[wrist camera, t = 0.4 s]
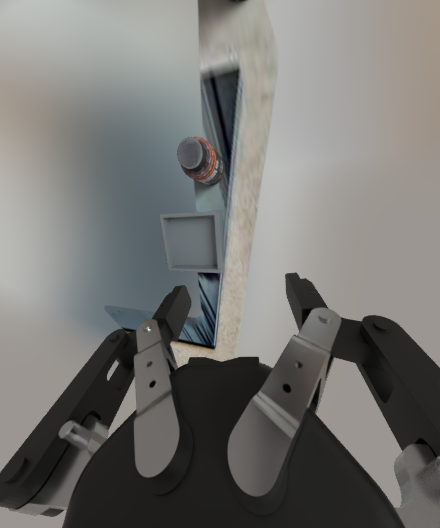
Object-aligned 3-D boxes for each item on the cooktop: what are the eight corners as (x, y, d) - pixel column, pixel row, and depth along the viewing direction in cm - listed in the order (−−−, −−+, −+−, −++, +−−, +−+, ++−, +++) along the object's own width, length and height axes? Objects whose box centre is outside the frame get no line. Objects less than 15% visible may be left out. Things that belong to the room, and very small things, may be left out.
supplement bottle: (194, 161, 34) (164, 139, 23) (219, 147, 32) (199, 118, 21) (203, 190, 35) (179, 182, 25) (229, 179, 33) (214, 165, 23)
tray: (167, 213, 39) (159, 214, 36) (221, 210, 35) (217, 210, 32) (175, 266, 43) (168, 270, 40) (224, 267, 40) (221, 273, 37)
